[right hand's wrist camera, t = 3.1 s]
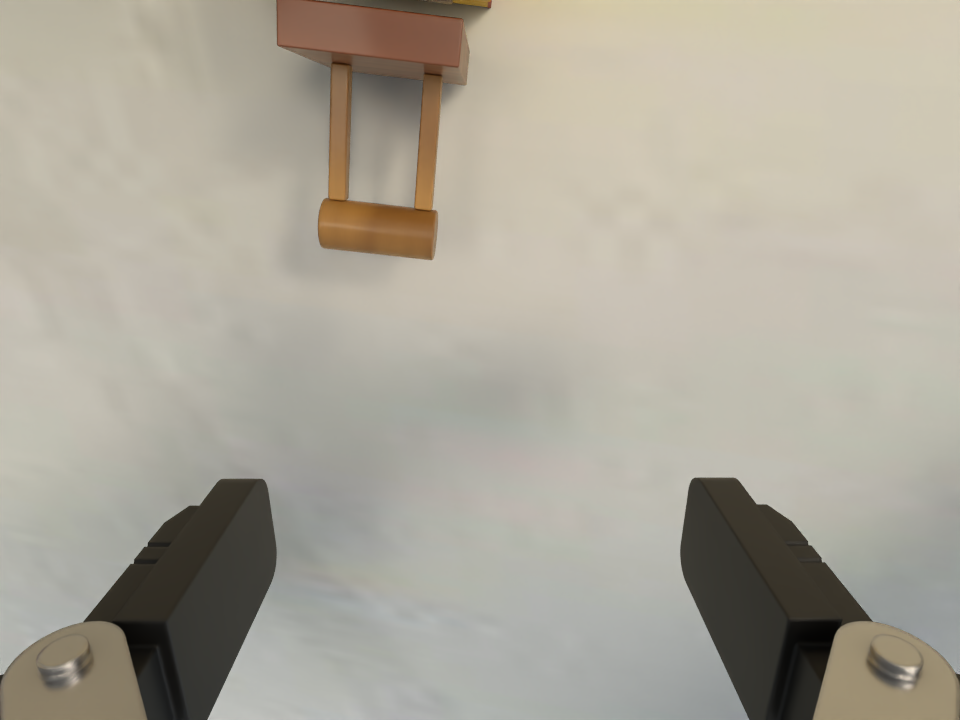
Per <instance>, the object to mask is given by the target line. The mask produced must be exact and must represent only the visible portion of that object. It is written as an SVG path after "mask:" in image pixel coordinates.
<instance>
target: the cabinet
mask: <svg viewBox="0 0 960 720" xmlns="http://www.w3.org/2000/svg"><path fill="white" fill-rule="evenodd" d="M491 1H492V0H453V3H459V4H467V5H475V6H483V7H488V8H491Z"/></svg>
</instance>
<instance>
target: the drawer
mask: <svg viewBox="0 0 960 720" xmlns="http://www.w3.org/2000/svg"><path fill="white" fill-rule="evenodd" d="M420 1H428V2H436V3H444V4H452V3H453V0H420ZM277 45H278V46H279V47H282V48H284V49H287V50H289V51H291V52H294V53H296V54H299V55H301V56H303V57H306V58H308V59H311V60H313V61H315V62H318V63H320V64H323V65H325V66H328V67H330V68H331V87H330V140H329V193H328V197H329V198H325V199H324V200H323V202H322V204H321V207H320V211H319V218H318V237H319V242H320V245H321V247H323V248H326V249H335V250H344V251H353V252H362V253H371V254H380V255H389V256H398V257H407V258H416V259H425V260H433V258H434V254H435V248H436V240H437V228H438V212H437V211H436V210H432V208H433V197H434V184H435V172H436V159H437V147H438V134H439V122H440V109H441V97H442V84H443V83H450V84H458V85H466V84H467V73H468V62H469V47H468V42H467V37H466V32H465V26H464V21H463V19H462V18H453V17H445V16H437V15H429V14H421V13H413V12H405V11H397V10H389V9H381V8H372V7H364V6H356V5H348V4H340V3H332V2H324V1H316V0H277ZM352 72H358V73H367V74H375V75H383V76H392V77H400V78H408V79H417V80H423V90H422V104H421V119H420V133H419V148H418V162H417V177H416V191H415V206H414V208H411V207H402V206H393V205H384V204H375V203H367V202H358V201H349V200H347V199H348V196H349V163H350V131H351V98H352Z"/></svg>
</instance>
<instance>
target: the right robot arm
mask: <svg viewBox="0 0 960 720" xmlns="http://www.w3.org/2000/svg"><path fill="white" fill-rule="evenodd" d="M276 556H277V551H276V541H275V535H274V528H273V521H272V514H271V507H270V500H269V493H268V488H267V484H266V482H265V481H264V480H263V479H221V480H219V481H218V482H217V483H216V485H215V486H214V487H213V489H212V490H211V491H210V493H209V494H208V495H207V497H206V498H205V499H204V501H203V502H202V503H201V504H200V506H188V507H187V508H186V509H184V510H183V511H181V512H180V513H178V514H177V515H175V516H174V517H172V518H171V519H169V520H168V521H166V522H165V523H164V524H163V525H162V526H161V527H160V529H159V530H158V531H157V532H156V534H155V535H154V536H153V537H152V538H151V540H150V541H149V542H148V546H147V547H144V548H143V550H142V551H141V552H140V553H139V554H138V556H137V557H136V558H135V559H134V564H130V565H129V567H128V568H127V569H126V570H125V572H124V573H123V574H122V575H121V576H120V578H119V579H118V580H117V581H116V583H115V584H114V585H113V586H112V587H111V589H110V590H109V591H108V592H107V594H106V595H105V596H104V597H103V598H102V600H101V601H100V602H99V603H98V605H97V606H96V607H95V608H94V609H93V611H92V612H91V613H90V614H89V616H88V617H87V618H86V619H85V621H84V622H83V623H78V624H74V625H71V626H68V627H65V628H62V629H60V630H57V631H55V632H53V633H51V634H49V635H47V636H45V637H43V638H41V639H40V640H38V641H37V642H35V643H34V644H32V645H31V646H29V647H28V648H27V649H26V650H24V651H23V652H22V653H21V654H20V655H19V656H18V657H17V658H16V659H15V660H14V661H13V662H12V663H11V664H10V666H9V667H8V669H7V670H6V672H5V673H4V674H3V675H0V720H207V719H208V717H209V715H210V713H211V711H212V708H213V706H214V704H215V702H216V700H217V698H218V696H219V693H220V691H221V689H222V687H223V685H224V683H225V681H226V679H227V676H228V674H229V672H230V670H231V668H232V666H233V664H234V661H235V659H236V657H237V655H238V653H239V651H240V649H241V646H242V644H243V642H244V640H245V638H246V636H247V634H248V631H249V629H250V627H251V625H252V623H253V621H254V619H255V616H256V614H257V612H258V610H259V608H260V606H261V604H262V602H263V599H264V597H265V595H266V593H267V591H268V589H269V587H270V584H271V582H272V579H273V576H274V572H275V567H276ZM680 557H681V566H682V571H683V575H684V578H685V581H686V583H687V586H688V588H689V590H690V592H691V594H692V596H693V599H694V601H695V603H696V605H697V607H698V609H699V612H700V614H701V616H702V618H703V620H704V622H705V625H706V627H707V629H708V631H709V633H710V635H711V638H712V640H713V642H714V644H715V646H716V648H717V651H718V653H719V655H720V657H721V659H722V661H723V664H724V666H725V668H726V670H727V672H728V674H729V677H730V679H731V681H732V683H733V685H734V687H735V689H736V692H737V694H738V696H739V698H740V700H741V702H742V705H743V707H744V709H745V711H746V713H747V715H748V718H749V720H960V674H956V673H955V672H954V670H953V669H952V667H951V666H950V664H949V663H948V662H947V661H946V660H945V659H944V658H943V657H942V656H941V655H940V654H939V653H938V652H937V651H936V650H934V649H933V648H932V647H931V646H929V645H928V644H926V643H925V642H923V641H922V640H920V639H919V638H917V637H915V636H913V635H911V634H909V633H907V632H905V631H903V630H900V629H898V628H895V627H892V626H889V625H886V624H882V623H877V622H873V621H872V620H871V619H870V617H869V616H868V615H867V614H866V613H865V611H864V610H863V609H862V608H861V606H860V605H859V604H858V603H857V601H856V600H855V599H854V598H853V596H852V595H851V594H850V593H849V592H848V590H847V589H846V588H845V587H844V585H843V584H842V583H841V582H840V580H839V579H838V578H837V577H836V575H835V574H834V573H833V572H832V571H831V569H830V568H829V567H828V566H827V564H826V563H822V560H821V557H820V556H819V554H818V553H817V552H816V551H815V550H814V548H813V547H812V546H809V545H808V541H807V540H806V538H805V537H804V536H803V535H802V534H801V532H800V531H799V530H798V529H797V527H796V526H795V525H794V524H793V522H792V521H790V520H789V519H787V518H786V517H784V516H783V515H781V514H780V513H778V512H777V511H775V510H774V509H773V508H771V507H770V506H768V505H757V504H756V503H755V502H754V500H753V499H752V498H751V496H750V495H749V494H748V492H747V491H746V490H745V488H744V487H743V486H742V484H741V483H740V482H739V481H738V480H737V479H736V478H694V479H692V481H691V483H690V486H689V490H688V497H687V505H686V512H685V519H684V526H683V533H682V540H681V549H680Z"/></svg>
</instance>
